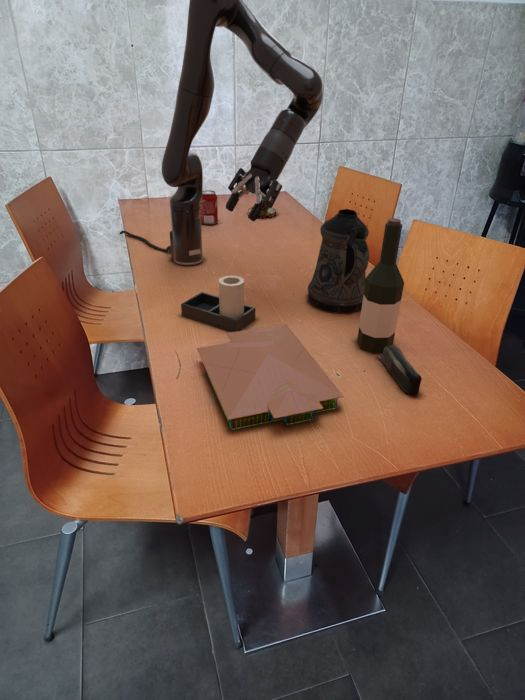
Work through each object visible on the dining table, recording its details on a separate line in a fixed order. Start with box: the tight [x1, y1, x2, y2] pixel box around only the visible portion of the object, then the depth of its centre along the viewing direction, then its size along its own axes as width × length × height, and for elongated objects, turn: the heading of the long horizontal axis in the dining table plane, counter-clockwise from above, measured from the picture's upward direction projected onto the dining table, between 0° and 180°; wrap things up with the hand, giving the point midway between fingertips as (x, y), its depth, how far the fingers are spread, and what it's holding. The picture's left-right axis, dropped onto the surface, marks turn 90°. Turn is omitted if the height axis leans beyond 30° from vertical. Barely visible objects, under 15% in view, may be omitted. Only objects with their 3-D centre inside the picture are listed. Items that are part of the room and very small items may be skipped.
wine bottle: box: [356, 217, 405, 354], centre depth 111 cm, size 8×8×30 cm
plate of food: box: [247, 206, 277, 220], centre depth 206 cm, size 12×12×8 cm
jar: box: [218, 275, 245, 320], centre depth 124 cm, size 6×6×10 cm
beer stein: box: [307, 208, 370, 314], centre depth 132 cm, size 16×19×25 cm
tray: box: [180, 291, 256, 332], centre depth 128 cm, size 17×9×3 cm, turn 59°
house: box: [196, 323, 344, 431], centre depth 103 cm, size 23×33×8 cm
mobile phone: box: [377, 344, 423, 396], centre depth 106 cm, size 5×3×15 cm
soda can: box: [200, 189, 219, 226], centre depth 193 cm, size 7×7×12 cm
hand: (239, 214), depth 120 cm, fingers open, 8 cm apart
